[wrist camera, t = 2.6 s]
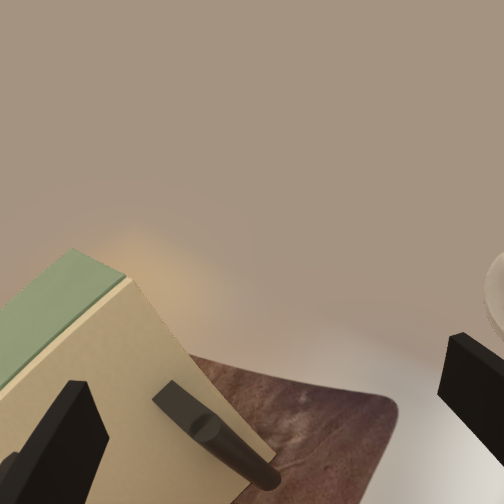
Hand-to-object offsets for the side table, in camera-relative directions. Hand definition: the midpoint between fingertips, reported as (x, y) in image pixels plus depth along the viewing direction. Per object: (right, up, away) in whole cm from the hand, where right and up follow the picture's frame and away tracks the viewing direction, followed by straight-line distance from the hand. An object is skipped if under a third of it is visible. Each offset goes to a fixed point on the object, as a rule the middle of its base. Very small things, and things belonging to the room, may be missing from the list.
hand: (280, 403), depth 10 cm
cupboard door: (-5, -24, +10) cm, 26 cm away
